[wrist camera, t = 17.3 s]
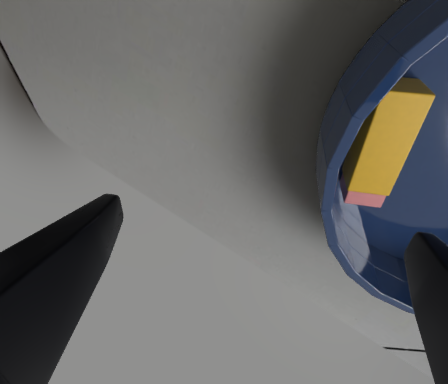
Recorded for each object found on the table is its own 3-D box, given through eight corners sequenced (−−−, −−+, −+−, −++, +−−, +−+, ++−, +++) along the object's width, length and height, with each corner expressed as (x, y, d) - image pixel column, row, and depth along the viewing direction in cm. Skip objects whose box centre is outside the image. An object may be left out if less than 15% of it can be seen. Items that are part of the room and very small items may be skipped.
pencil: (374, 186, 20) (383, 209, 19) (337, 181, 21) (342, 204, 19) (419, 78, 16) (436, 94, 14) (371, 74, 16) (382, 89, 15)
